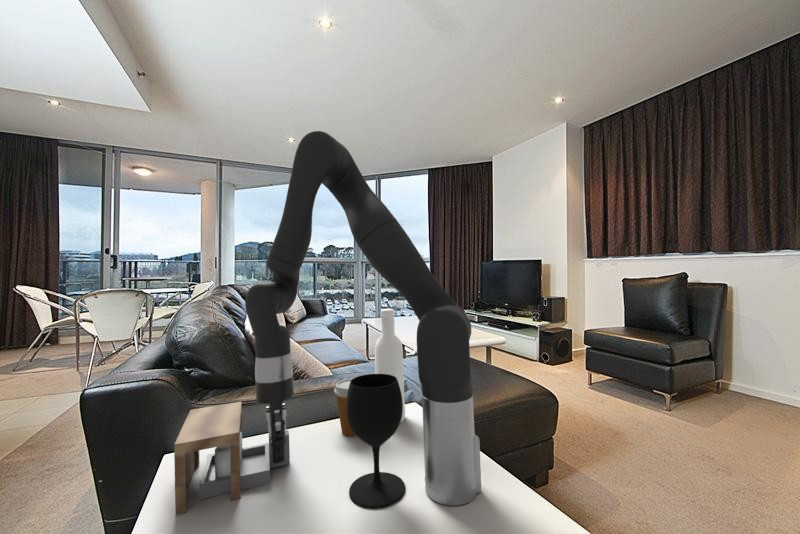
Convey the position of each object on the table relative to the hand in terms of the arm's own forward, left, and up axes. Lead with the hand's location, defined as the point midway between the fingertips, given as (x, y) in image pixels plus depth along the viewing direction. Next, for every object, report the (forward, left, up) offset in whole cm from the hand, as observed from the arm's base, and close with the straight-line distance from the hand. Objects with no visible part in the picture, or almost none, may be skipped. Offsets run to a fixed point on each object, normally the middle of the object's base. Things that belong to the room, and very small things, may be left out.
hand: (278, 457), depth 73 cm
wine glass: (-16, +17, -2) cm, 24 cm away
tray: (+6, 0, -2) cm, 6 cm away
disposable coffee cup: (-19, -9, -2) cm, 21 cm away
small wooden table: (+12, 0, -2) cm, 12 cm away
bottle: (-30, -11, -2) cm, 32 cm away
